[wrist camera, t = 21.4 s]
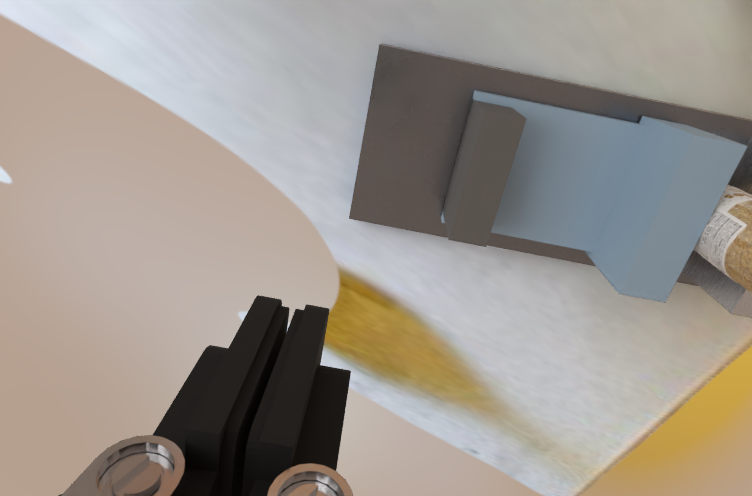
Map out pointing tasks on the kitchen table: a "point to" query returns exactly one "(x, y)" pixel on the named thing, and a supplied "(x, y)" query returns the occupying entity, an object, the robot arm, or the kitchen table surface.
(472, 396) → the kitchen table surface
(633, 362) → the kitchen table surface
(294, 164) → the kitchen table surface
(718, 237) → the spice jar
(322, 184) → the kitchen table surface
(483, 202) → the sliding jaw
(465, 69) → the clamp base
